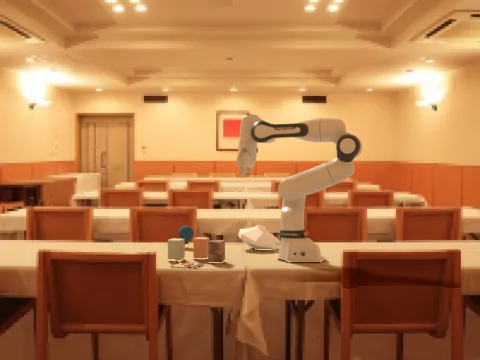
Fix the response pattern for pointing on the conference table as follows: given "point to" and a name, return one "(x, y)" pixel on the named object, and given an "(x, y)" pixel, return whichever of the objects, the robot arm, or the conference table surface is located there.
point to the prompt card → (191, 264)
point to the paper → (259, 238)
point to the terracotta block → (200, 247)
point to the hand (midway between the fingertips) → (244, 177)
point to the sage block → (176, 249)
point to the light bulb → (186, 233)
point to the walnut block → (216, 251)
